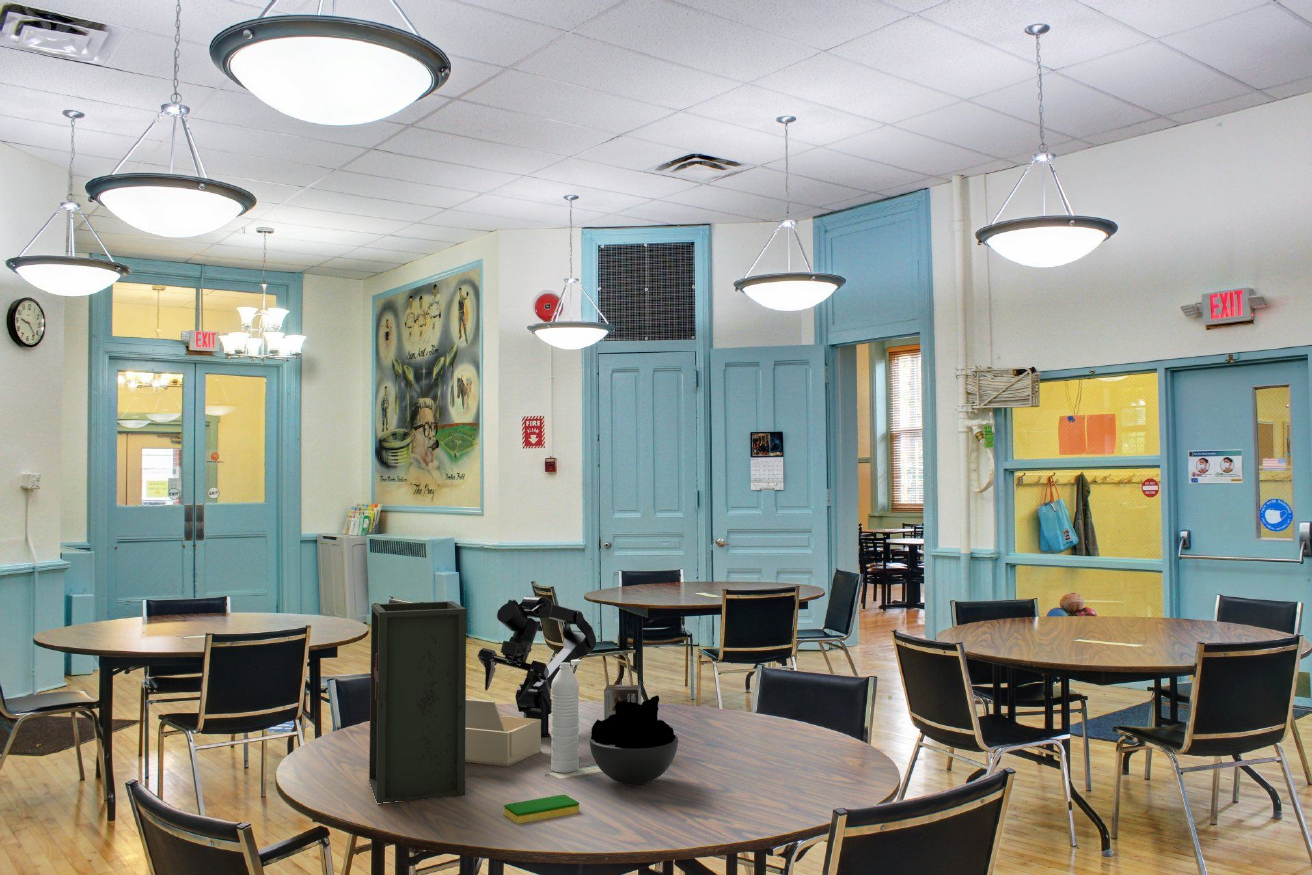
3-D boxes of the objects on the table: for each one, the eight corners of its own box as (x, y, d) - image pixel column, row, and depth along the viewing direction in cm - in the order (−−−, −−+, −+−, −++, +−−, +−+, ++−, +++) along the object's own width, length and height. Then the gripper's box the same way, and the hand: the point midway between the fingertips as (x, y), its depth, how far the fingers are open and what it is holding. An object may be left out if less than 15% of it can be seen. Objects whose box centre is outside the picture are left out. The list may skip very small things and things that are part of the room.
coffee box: (642, 747, 261) (642, 684, 262) (639, 754, 255) (639, 688, 255) (607, 747, 262) (607, 683, 263) (603, 753, 255) (603, 688, 256)
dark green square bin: (369, 781, 230) (371, 604, 233) (450, 773, 237) (452, 601, 239) (376, 804, 213) (379, 612, 216) (464, 795, 220) (466, 608, 222)
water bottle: (567, 774, 236) (567, 665, 237) (545, 770, 239) (545, 663, 241) (589, 766, 243) (589, 660, 245) (568, 762, 247) (568, 658, 248)
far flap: (428, 695, 247) (427, 696, 247) (494, 701, 240) (493, 702, 239) (439, 723, 251) (438, 724, 250) (505, 729, 243) (504, 731, 243)
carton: (473, 743, 266) (473, 712, 267) (543, 750, 258) (543, 719, 258) (436, 758, 251) (436, 725, 251) (509, 766, 243) (509, 732, 243)
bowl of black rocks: (600, 799, 216) (599, 709, 217) (581, 775, 235) (581, 692, 236) (689, 792, 221) (689, 704, 223) (664, 768, 241) (664, 688, 242)
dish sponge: (580, 814, 207) (580, 802, 208) (517, 825, 200) (517, 813, 200) (564, 805, 214) (564, 793, 214) (503, 816, 206) (503, 804, 207)
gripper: (484, 619, 267) (462, 674, 259) (550, 635, 263) (530, 692, 255) (492, 635, 276) (471, 689, 268) (557, 651, 272) (537, 707, 264)
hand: (502, 694), depth 264 cm, fingers open, 9 cm apart
